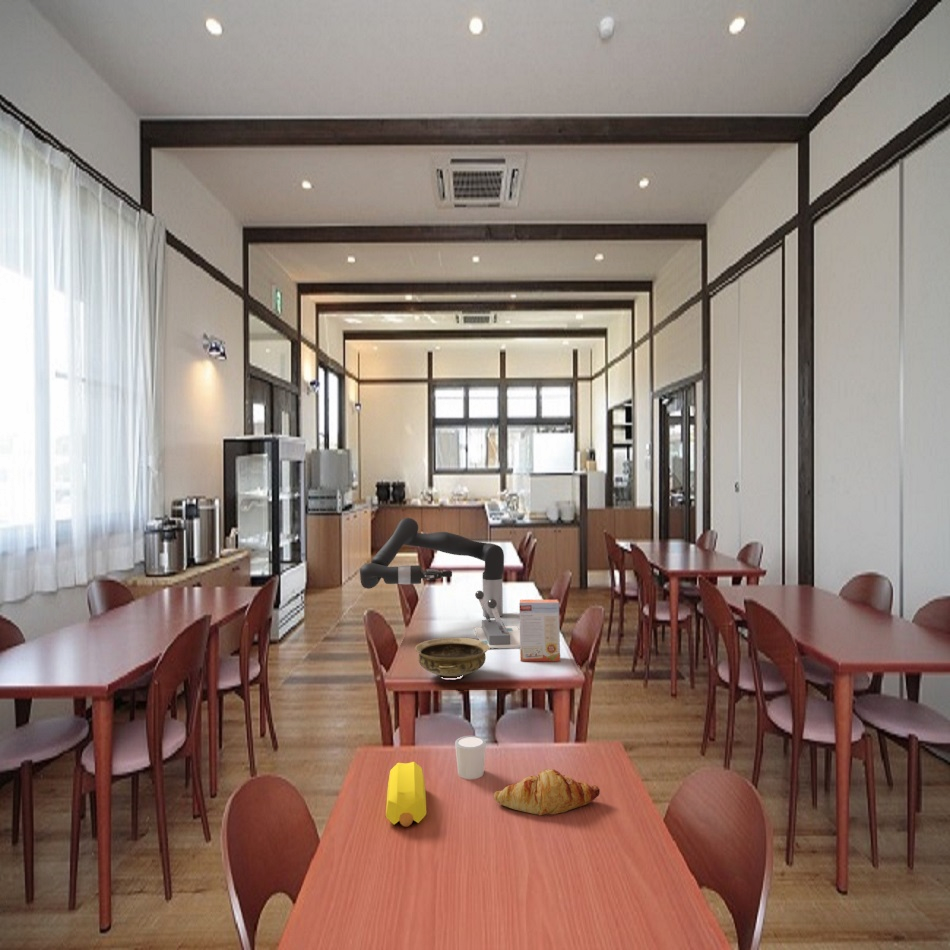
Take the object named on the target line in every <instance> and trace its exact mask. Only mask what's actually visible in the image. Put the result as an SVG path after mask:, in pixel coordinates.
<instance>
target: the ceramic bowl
mask: <svg viewBox="0 0 950 950" xmlns="http://www.w3.org/2000/svg"><path fill="white" fill-rule="evenodd" d="M414 650H415V651H416V652H417V653H418V663H419V665H420V666H421V667H422V668H423V669H424V670H426V671H428V672H430V673H431V674H435V675H438V676H440V677H443V678H457V677H460V676H462V675H464V676H465V675H469V674H471V673H474V672H476V671H478V670H479V669H481V668H482V667H483V665H484V664H485V662H486V658H487V657H486V652H487V651H488V650H490V649H489V646H488V644H486V643H484V642H482V641H480V640H478V639H475V638H468V637H442V638H433V639H429V640H425V641H422V642H420V643H418V644H416V645H415V649H414ZM440 677H439V678H440Z"/></svg>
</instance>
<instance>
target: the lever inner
mask: <svg viewBox="0 0 950 950" xmlns="http://www.w3.org/2000/svg"><path fill="white" fill-rule="evenodd" d="M474 596H475V598H476V599H477V600H478V602H479V604H480V606H481V609H482V613H483V612H484V615H485V616H484V618H485V620H488V622H490V621H491V620H492V619H491V618H492V617H490V614H489V612H488V609H487V606H486V604H485V601H484V598H483V597H484V593H483V590H477V591H476V592H475V595H474Z"/></svg>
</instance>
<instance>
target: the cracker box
mask: <svg viewBox="0 0 950 950" xmlns="http://www.w3.org/2000/svg"><path fill="white" fill-rule="evenodd" d="M519 630H520V648H519V649H520V650H519V652H520V653H519V654H520V656H519V657H520V662H561V643H560V642H561V640H560V639H561V637H560V633H561V631H560V602H559V599H520V600H519Z"/></svg>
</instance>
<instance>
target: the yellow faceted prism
mask: <svg viewBox="0 0 950 950" xmlns="http://www.w3.org/2000/svg"><path fill="white" fill-rule="evenodd" d="M426 796H427V795H426V781H425V777H424V772H423V768H422V766H420V765H419V764H417V763H416V762H415V761H410V762H407V763H405V762H397V763H396V764H395V765H394V766H393V767H392V768H391V769H390V770H389V776H388V784H387V791H386V808H385V817H386V819H387V820H388V821H390V823H391V824H392V825H396V824H397V823H398V822H399V824H400V825H401V826H403V828H404V827H409V826H410V825H412V823H413V821H414V822H416V823H417V824H419V823H420V822H421V821H422V820H423V819H424V818H425V817H426V815H427V798H426Z"/></svg>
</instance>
